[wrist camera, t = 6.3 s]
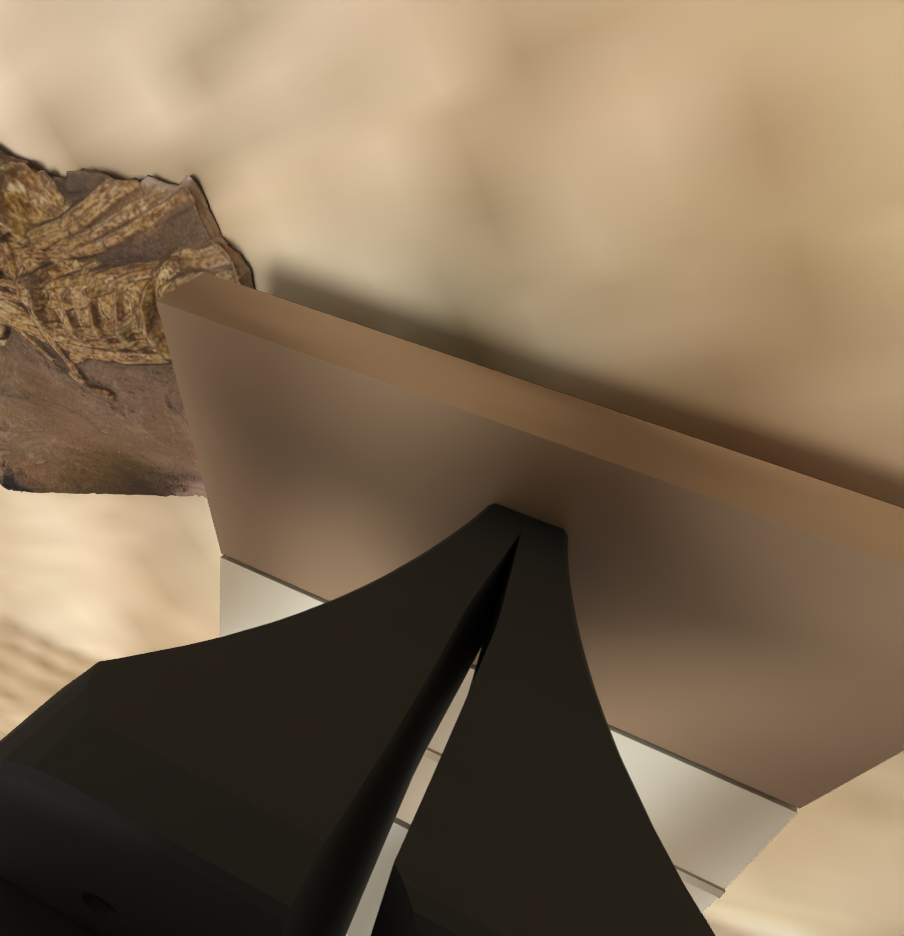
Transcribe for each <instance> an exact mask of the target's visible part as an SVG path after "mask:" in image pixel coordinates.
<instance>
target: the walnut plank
mask: <svg viewBox="0 0 904 936" xmlns="http://www.w3.org/2000/svg"><path fill="white" fill-rule="evenodd" d="M156 302H157V306H158V310H159V314H160V318H161V322H162V325H163V329H164V333H165V337H166V341H167V345H168V349H169V353H170V356H171V360H172V364H173V368H174V372H175V376H176V380H177V383H178V387H179V391H180V395H181V399H182V403H183V407H184V411H185V414H186V418H187V422H188V426H189V430H190V434H191V438H192V441H193V445H194V449H195V453H196V457H197V461H198V465H199V468H200V472H201V476H202V480H203V484H204V488H205V492H206V496H207V499H208V503H209V507H210V511H211V515H212V519H213V523H214V526H215V530H216V534H217V538H218V542H219V546H220V550H221V553H222V554H224V555H227V556H229V557H231V558H233V559H236V560H238V561H240V562H242V563H245V564H247V565H249V566H251V567H254V568H256V569H258V570H260V571H263V572H265V573H267V574H270V575H272V576H274V577H276V578H279V579H281V580H283V581H285V582H288V583H290V584H292V585H294V586H297V587H299V588H301V589H304V590H306V591H308V592H310V593H313V594H315V595H317V596H319V597H322V598H324V599H326V600H328V601H331V600H334V599H336V598H338V597H341V596H343V595H345V594H347V593H349V592H352V591H354V590H356V589H358V588H360V587H363V586H365V585H367V584H369V583H371V582H373V581H375V580H377V579H379V578H381V577H383V576H385V575H386V574H388V573H390V572H392V571H394V570H395V569H397V568H399V567H401V566H402V565H404V564H406V563H407V562H409V561H411V560H413V559H414V558H416V557H418V556H420V555H421V554H423V553H425V552H426V551H428V550H429V549H431V548H432V547H434V546H435V545H437V544H438V543H440V542H441V541H443V540H444V539H446V538H447V537H449V536H450V535H452V534H453V533H454V532H456V531H457V530H459V529H460V528H461V527H463V526H464V525H465V524H467V523H468V522H469V521H470V520H472V519H473V518H474V517H476V516H477V515H478V514H479V513H480V512H482V511H483V510H484V509H485V508H486V507H487V506H488V505H491V504H494V503H497V504H499V505H502V506H504V507H507V508H509V509H512V510H515V511H517V512H520V513H522V514H525V515H528V516H530V517H533V518H536V519H538V520H541V521H543V522H546V523H549V524H552V525H554V526H557V527H560V528H562V529H564V530H565V531H566V533H567V535H568V566H569V576H570V584H571V591H572V597H573V602H574V608H575V613H576V619H577V623H578V628H579V632H580V637H581V641H582V645H583V648H584V652H585V656H586V660H587V664H588V667H589V670H590V674H591V677H592V680H593V684H594V687H595V690H596V693H597V696H598V699H599V701H600V704H601V707H602V710H603V713H604V716H605V718H606V721H607V723H608V724H609V725H612V726H614V727H616V728H618V729H621V730H623V731H625V732H627V733H630V734H632V735H634V736H637V737H639V738H641V739H643V740H646V741H648V742H650V743H652V744H655V745H657V746H659V747H661V748H664V749H666V750H668V751H670V752H673V753H675V754H677V755H680V756H682V757H684V758H686V759H689V760H691V761H693V762H695V763H698V764H700V765H702V766H704V767H707V768H709V769H711V770H714V771H716V772H718V773H720V774H723V775H725V776H727V777H729V778H732V779H734V780H736V781H738V782H741V783H743V784H745V785H747V786H750V787H752V788H754V789H757V790H759V791H761V792H763V793H766V794H768V795H770V796H772V797H775V798H777V799H779V800H781V801H784V802H786V803H788V804H791V805H793V806H795V807H797V808H802V807H803V806H805V805H807V804H809V803H810V802H812V801H814V800H816V799H818V798H819V797H821V796H823V795H825V794H827V793H828V792H830V791H832V790H834V789H835V788H837V787H839V786H841V785H843V784H844V783H846V782H848V781H850V780H852V779H853V778H855V777H857V776H859V775H860V774H862V773H864V772H866V771H868V770H869V769H871V768H873V767H875V766H877V765H878V764H880V763H882V762H884V761H886V760H887V759H889V758H891V757H893V756H894V755H896V754H898V753H900V752H902V751H903V750H904V508H901V507H898V506H896V505H893V504H890V503H887V502H884V501H881V500H878V499H875V498H872V497H869V496H866V495H863V494H860V493H857V492H854V491H851V490H848V489H845V488H842V487H839V486H836V485H833V484H830V483H827V482H824V481H821V480H818V479H815V478H812V477H810V476H807V475H804V474H801V473H798V472H795V471H792V470H789V469H786V468H783V467H780V466H777V465H774V464H771V463H768V462H765V461H762V460H759V459H756V458H753V457H750V456H747V455H744V454H741V453H738V452H735V451H732V450H729V449H726V448H724V447H721V446H718V445H715V444H712V443H709V442H706V441H703V440H700V439H697V438H694V437H691V436H688V435H685V434H682V433H679V432H676V431H673V430H670V429H667V428H664V427H661V426H658V425H655V424H652V423H649V422H646V421H643V420H640V419H638V418H635V417H632V416H629V415H626V414H623V413H620V412H617V411H614V410H611V409H608V408H605V407H602V406H599V405H596V404H593V403H590V402H587V401H584V400H581V399H578V398H575V397H572V396H569V395H566V394H563V393H560V392H557V391H554V390H552V389H549V388H546V387H543V386H540V385H537V384H534V383H531V382H528V381H525V380H522V379H519V378H516V377H513V376H510V375H507V374H504V373H501V372H498V371H495V370H492V369H489V368H486V367H483V366H480V365H477V364H474V363H471V362H468V361H466V360H463V359H460V358H457V357H454V356H451V355H448V354H445V353H442V352H439V351H436V350H433V349H430V348H427V347H424V346H421V345H418V344H415V343H412V342H409V341H406V340H403V339H400V338H397V337H394V336H391V335H388V334H385V333H383V332H380V331H377V330H374V329H371V328H368V327H365V326H362V325H359V324H356V323H353V322H350V321H347V320H344V319H341V318H338V317H335V316H332V315H329V314H326V313H323V312H320V311H317V310H314V309H311V308H308V307H305V306H302V305H299V304H297V303H294V302H291V301H288V300H285V299H282V298H279V297H276V296H273V295H270V294H267V293H264V292H261V291H258V290H255V289H252V288H249V287H246V286H243V285H240V284H237V283H234V282H231V281H228V280H225V279H222V278H219V277H216V276H213V275H211V274H208V273H205V272H204V273H202V274H200V275H199V276H197V277H195V278H194V279H192V280H190V281H189V282H187V283H185V284H184V285H182V286H180V287H179V288H177V289H175V290H174V291H172V292H170V293H169V294H167V295H165V296H164V297H162V298H160V299H159V300H157V301H156ZM480 651H481V649H480ZM480 651H479V653H478V654H477V656H476V658H475V660H474V662H473V665H476V664H477V661H478V657H479V654H480Z"/></svg>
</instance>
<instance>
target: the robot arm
mask: <svg viewBox="0 0 904 936" xmlns="http://www.w3.org/2000/svg"><path fill="white" fill-rule="evenodd" d="M480 649H481V651H480ZM479 651H480V654H479V657H478V661H477V664H476V668H475V671H474V674H473V678H472V681H471V685H470V688H469V691H468V695H467V697H466V700H465V702H464V704H463V707H462V709H461V711H460V714H459V716H458V718H457V721H456V723H455V725H454V728H453V730H452V732H451V735H450V737H449V739H448V741H447V744H446V746H445V748H444V751H443V753H442V755H441V758H440V760H439V762H438V764H437V767H436V769H435V771H434V774H433V776H432V778H431V780H430V783H429V785H428V787H427V789H426V792H425V794H424V796H423V798H422V801H421V803H420V805H419V807H418V810H417V812H416V814H415V816H414V819H413V821H412V823H411V825H410V828H409V830H408V832H407V834H406V837H405V839H404V841H403V843H402V845H401V848H400V850H399V852H398V854H397V857H396V859H395V861H394V864H393V867H392V870H391V873H390V876H389V879H388V882H387V885H386V889H385V892H384V895H383V898H382V901H381V904H380V907H379V910H378V914H377V917H376V920H375V923H374V926H373V929H372V932H371V935H370V936H715V934H714V933H713V931H712V929H711V928H710V926H709V924H708V923H707V921H706V919H705V918H704V916H703V914H702V913H701V911H700V910H699V908H698V906H697V905H696V903H695V901H694V900H693V898H692V896H691V895H690V893H689V891H688V890H687V888H686V887H685V885H684V883H683V881H682V879H681V878H680V876H679V874H678V872H677V870H676V868H675V866H674V864H673V863H672V861H671V859H670V857H669V855H668V853H667V851H666V849H665V847H664V846H663V844H662V842H661V840H660V838H659V836H658V834H657V832H656V831H655V829H654V827H653V825H652V822H651V820H650V818H649V816H648V814H647V812H646V810H645V807H644V805H643V803H642V801H641V799H640V797H639V795H638V793H637V790H636V788H635V786H634V784H633V782H632V780H631V778H630V775H629V773H628V771H627V769H626V767H625V765H624V763H623V761H622V758H621V756H620V754H619V751H618V749H617V746H616V744H615V741H614V739H613V736H612V734H611V731H610V729H609V726H608V723H607V721H606V718H605V716H604V713H603V710H602V707H601V704H600V701H599V699H598V696H597V693H596V690H595V687H594V684H593V680H592V677H591V674H590V670H589V667H588V664H587V660H586V656H585V652H584V648H583V645H582V641H581V637H580V632H579V628H578V623H577V619H576V613H575V608H574V602H573V597H572V591H571V584H570V576H569V566H568V535H567V533H566V531H565V530H564V529H562V528H560V527H557V526H554V525H552V524H549V523H546V522H543V521H541V520H538V519H536V518H533V517H530V516H528V515H525V514H522V513H520V512H517V511H515V510H512V509H509V508H507V507H504V506H502V505H499V504H497V503H494V504H491V505H488V506H487V507H486V508H485V509H484V510H483V511H482V512H480V513H479V514H478V515H477V516H476V517H474V518H473V519H472V520H470V521H469V522H468V523H467V524H465V525H464V526H463V527H461V528H460V529H459V530H457V531H456V532H454V533H453V534H452V535H450V536H449V537H447V538H446V539H444V540H443V541H441V542H440V543H438V544H437V545H435V546H434V547H432V548H431V549H429V550H428V551H426V552H425V553H423V554H421V555H420V556H418V557H416V558H414V559H413V560H411V561H409V562H407V563H406V564H404V565H402V566H401V567H399V568H397V569H395V570H394V571H392V572H390V573H388V574H386V575H385V576H383V577H381V578H379V579H377V580H375V581H373V582H371V583H369V584H367V585H365V586H363V587H360V588H358V589H356V590H354V591H352V592H349V593H347V594H345V595H343V596H341V597H338V598H336V599H334V600H331V601H328V602H326V603H323V604H321V605H318V606H316V607H313V608H310V609H308V610H305V611H303V612H300V613H298V614H295V615H292V616H289V617H286V618H283V619H280V620H277V621H274V622H271V623H268V624H264V625H261V626H257V627H254V628H251V629H247V630H244V631H240V632H237V633H233V634H230V635H226V636H223V637H219V638H215V639H211V640H207V641H203V642H199V643H194V644H190V645H186V646H181V647H175V648H170V649H165V650H160V651H155V652H150V653H145V654H139V655H134V656H129V657H124V658H119V659H113V660H106V661H100V662H98V663H96V664H95V665H94V666H92V667H91V668H90V669H88V670H87V671H86V672H84V673H83V674H82V675H80V676H79V677H77V678H76V679H75V680H73V681H72V682H70V683H69V684H68V685H66V686H65V687H63V688H62V689H61V690H60V691H58V692H57V693H56V694H55V695H54V696H52V697H51V698H50V699H49V700H48V701H46V702H45V703H44V704H43V705H42V706H40V707H39V708H38V709H37V710H36V711H35V712H33V713H32V714H31V715H30V716H29V717H28V718H26V719H25V720H24V721H23V722H22V723H21V724H19V725H18V726H17V727H16V728H15V729H14V730H12V731H11V732H10V733H9V734H8V735H7V736H5V737H4V738H3V739H2V740H1V741H0V936H346V934H347V931H348V929H349V927H350V924H351V922H352V919H353V917H354V915H355V912H356V910H357V907H358V905H359V903H360V900H361V898H362V895H363V893H364V891H365V888H366V886H367V884H368V881H369V879H370V877H371V874H372V872H373V869H374V867H375V865H376V862H377V860H378V858H379V855H380V853H381V850H382V848H383V846H384V843H385V841H386V839H387V836H388V834H389V832H390V829H391V827H392V825H393V822H394V820H395V817H396V815H397V813H398V810H399V808H400V806H401V803H402V801H403V799H404V796H405V794H406V792H407V789H408V787H409V785H410V782H411V780H412V778H413V776H414V773H415V771H416V769H417V767H418V765H419V763H420V761H421V759H422V757H423V755H424V753H425V751H426V749H427V747H428V745H429V744H430V742H431V740H432V738H433V736H434V734H435V732H436V731H437V729H438V727H439V725H440V723H441V721H442V719H443V718H444V716H445V714H446V712H447V710H448V708H449V707H450V705H451V703H452V701H453V699H454V697H455V695H456V694H457V692H458V690H459V688H460V686H461V684H462V682H463V681H464V679H465V677H466V675H467V673H468V671H469V669H470V668H471V666H472V664H473V662H474V660H475V658H476V656H477V654H478V653H479Z"/></svg>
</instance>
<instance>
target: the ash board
mask: <svg viewBox="0 0 904 936" xmlns="http://www.w3.org/2000/svg"><path fill="white" fill-rule="evenodd" d="M326 602H328V600H326V599H324V598H322V597H319V596H317V595H315V594H313V593H310V592H308V591H306V590H304V589H301V588H299V587H297V586H294V585H292V584H290V583H288V582H285V581H283V580H281V579H279V578H276V577H274V576H272V575H270V574H267V573H265V572H263V571H260V570H258V569H256V568H254V567H251V566H249V565H247V564H245V563H242V562H240V561H238V560H236V559H233V558H231V557H229V556H227V555H223V556H221V557H220V637H223V636H226V635H230V634H233V633H237V632H240V631H244V630H247V629H251V628H254V627H257V626H261V625H264V624H268V623H271V622H274V621H277V620H280V619H283V618H286V617H289V616H292V615H295V614H298V613H300V612H303V611H305V610H308V609H310V608H313V607H316V606H318V605H321V604H323V603H326ZM475 668H476V665H473V664H472V666H471V668H470V669H469V671H468V673H467V675H466V677H465V679H464V681H463V682H462V684H461V686H460V688H459V690H458V692H457V694H456V695H455V697H454V699H453V701H452V703H451V705H450V707H449V708H448V710H447V712H446V714H445V716H444V718H443V719H442V721H441V723H440V725H439V727H438V729H437V731H436V732H435V734H434V736H433V738H432V740H431V742H430V744H429V745H428V747H427V749H426V751H425V753H424V755H423V757H422V759H421V761H420V763H419V765H418V767H417V769H416V771H415V773H414V776H413V778H412V780H411V782H410V785H409V787H408V789H407V792H406V794H405V796H404V799H403V801H402V803H401V806H400V808H399V810H398V813H397V815H396V817H397V818H399V819H401V820H403V821H405V822H407V823H409V824H411V823H412V821H413V819H414V816H415V814H416V812H417V810H418V807H419V805H420V803H421V801H422V798H423V796H424V794H425V792H426V789H427V787H428V785H429V783H430V780H431V778H432V776H433V774H434V771H435V769H436V767H437V764H438V762H439V760H440V758H441V755H442V753H443V751H444V748H445V746H446V744H447V741H448V739H449V737H450V735H451V732H452V730H453V728H454V725H455V723H456V721H457V718H458V716H459V714H460V711H461V709H462V707H463V704H464V702H465V700H466V697H467V695H468V691H469V688H470V685H471V681H472V678H473V674H474V671H475ZM608 726H609V729H610V731H611V734H612V736H613V739H614V741H615V744H616V746H617V749H618V751H619V754H620V756H621V758H622V761H623V763H624V765H625V767H626V769H627V771H628V773H629V775H630V778H631V780H632V782H633V784H634V786H635V788H636V790H637V793H638V795H639V797H640V799H641V801H642V803H643V805H644V807H645V810H646V812H647V814H648V816H649V818H650V820H651V822H652V825H653V827H654V829H655V831H656V832H657V834H658V836H659V838H660V840H661V842H662V844H663V846H664V847H665V849H666V851H667V853H668V855H669V857H670V859H671V861H672V863H673V864H674V866H675V868H676V870H677V872H678V874H679V876H680V878H681V879H682V881H683V883H684V885H685V887H686V888H687V890H688V891H689V893H690V895H691V896H692V898H693V900H694V901H695V903H696V905H697V906H698V908H699V910H700V911H701V913H703V912H704V911H705V909H706V908H707V907H708V906H709V905H710V904H711V903H712V902H713V901H714V900H715V899H716V898H717V897H718V898H720V897H721V896H722V895H723V894H724V893H725V888H726V887H727V886H728V885H729V884H730V883H731V882H732V881H733V880H734V879H735V878H736V877H737V876H738V875H739V874H740V873H741V872H742V871H743V870H744V868H745V867H746V866H747V865H748V864H749V863H750V862H751V861H752V860H753V859H754V858H755V857H756V856H757V855H758V854H759V853H760V852H761V851H762V850H763V848H764V847H765V846H766V845H767V844H768V843H769V842H770V841H771V840H772V839H773V838H774V837H775V836H776V835H777V834H778V833H779V832H780V831H781V830H782V829H783V827H784V826H785V825H786V824H787V823H788V822H789V821H790V820H791V819H792V818H793V817H794V816H795V815H796V814H797V808H796V807H795V806H793V805H791V804H788V803H786V802H784V801H781V800H779V799H777V798H775V797H772V796H770V795H768V794H766V793H763V792H761V791H759V790H757V789H754V788H752V787H750V786H747V785H745V784H743V783H741V782H738V781H736V780H734V779H732V778H729V777H727V776H725V775H723V774H720V773H718V772H716V771H714V770H711V769H709V768H707V767H704V766H702V765H700V764H698V763H695V762H693V761H691V760H689V759H686V758H684V757H682V756H680V755H677V754H675V753H673V752H670V751H668V750H666V749H664V748H661V747H659V746H657V745H655V744H652V743H650V742H648V741H646V740H643V739H641V738H639V737H637V736H634V735H632V734H630V733H627V732H625V731H623V730H621V729H618V728H616V727H614V726H612V725H609V724H608Z"/></svg>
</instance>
